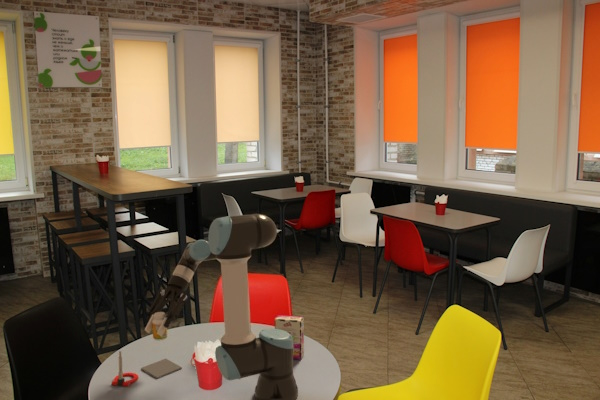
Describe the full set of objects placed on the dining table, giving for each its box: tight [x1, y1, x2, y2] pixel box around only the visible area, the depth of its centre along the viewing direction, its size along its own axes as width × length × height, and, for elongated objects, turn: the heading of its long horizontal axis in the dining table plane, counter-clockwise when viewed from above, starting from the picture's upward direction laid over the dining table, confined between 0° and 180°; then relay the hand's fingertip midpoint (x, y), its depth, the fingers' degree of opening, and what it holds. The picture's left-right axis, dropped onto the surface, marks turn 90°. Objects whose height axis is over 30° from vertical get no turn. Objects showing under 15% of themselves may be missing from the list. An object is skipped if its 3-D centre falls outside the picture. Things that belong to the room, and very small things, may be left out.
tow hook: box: [111, 350, 139, 387], centre depth 201 cm, size 8×13×9 cm
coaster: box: [140, 358, 183, 380], centre depth 210 cm, size 11×11×1 cm
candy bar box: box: [274, 314, 305, 361], centre depth 220 cm, size 11×5×16 cm, turn 76°
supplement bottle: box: [152, 311, 168, 341], centre depth 208 cm, size 5×5×10 cm
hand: (153, 333), depth 205 cm, fingers closed on supplement bottle, 5 cm apart
